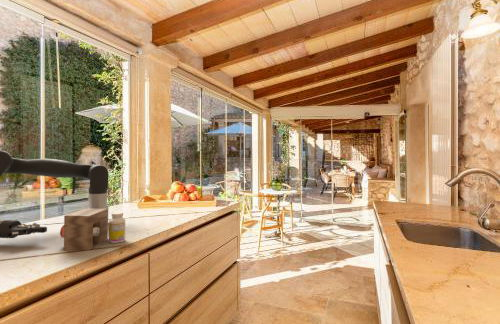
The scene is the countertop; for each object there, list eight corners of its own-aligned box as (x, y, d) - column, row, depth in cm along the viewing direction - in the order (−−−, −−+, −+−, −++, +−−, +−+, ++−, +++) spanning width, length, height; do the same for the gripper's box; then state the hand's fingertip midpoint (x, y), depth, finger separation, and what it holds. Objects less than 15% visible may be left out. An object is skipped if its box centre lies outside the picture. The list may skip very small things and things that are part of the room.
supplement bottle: (112, 239, 131) (112, 211, 130) (127, 239, 131) (127, 211, 131) (106, 243, 124) (106, 214, 124) (121, 243, 124) (122, 214, 124)
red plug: (60, 239, 117) (60, 226, 117) (68, 235, 123) (68, 223, 123) (94, 240, 118) (94, 226, 118) (100, 236, 123) (100, 223, 123)
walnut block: (60, 249, 114) (60, 215, 114) (82, 238, 130) (82, 208, 130) (88, 250, 115) (89, 216, 114) (107, 238, 131) (108, 208, 130)
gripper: (-10, 223, 113) (34, 224, 113) (16, 216, 126) (56, 217, 126) (-10, 242, 113) (34, 243, 113) (16, 233, 126) (55, 234, 126)
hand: (45, 229), depth 120 cm, fingers closed
